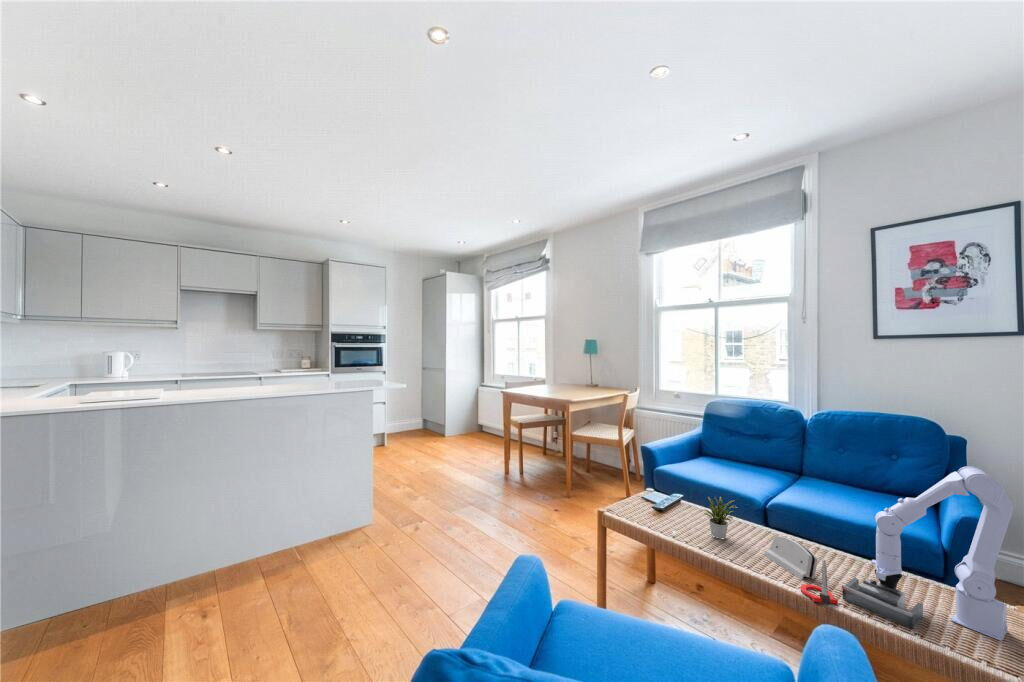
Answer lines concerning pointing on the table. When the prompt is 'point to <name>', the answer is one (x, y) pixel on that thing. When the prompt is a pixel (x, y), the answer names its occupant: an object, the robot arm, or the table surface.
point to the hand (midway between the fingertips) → (888, 595)
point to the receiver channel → (881, 605)
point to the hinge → (793, 557)
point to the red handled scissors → (820, 589)
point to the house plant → (719, 518)
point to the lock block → (883, 593)
